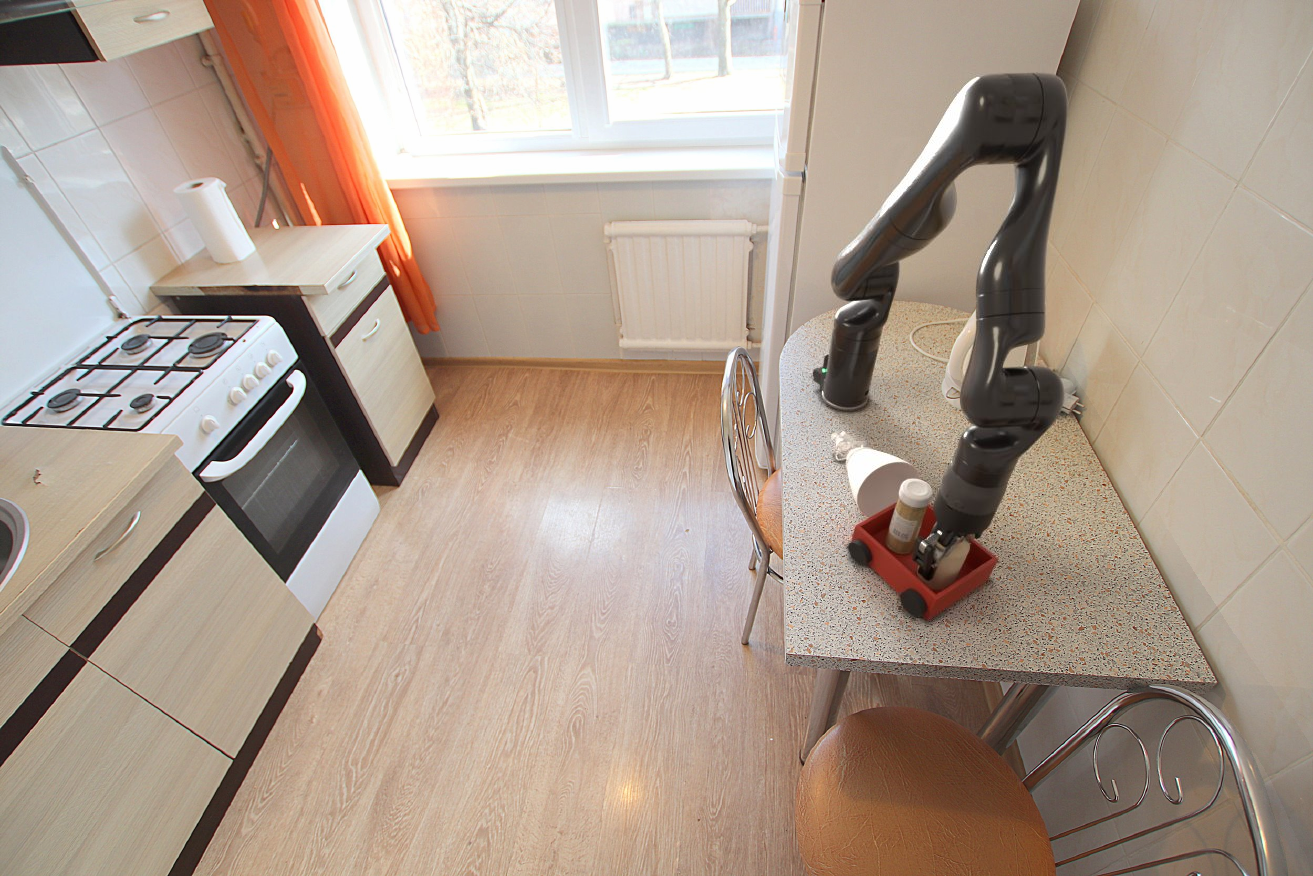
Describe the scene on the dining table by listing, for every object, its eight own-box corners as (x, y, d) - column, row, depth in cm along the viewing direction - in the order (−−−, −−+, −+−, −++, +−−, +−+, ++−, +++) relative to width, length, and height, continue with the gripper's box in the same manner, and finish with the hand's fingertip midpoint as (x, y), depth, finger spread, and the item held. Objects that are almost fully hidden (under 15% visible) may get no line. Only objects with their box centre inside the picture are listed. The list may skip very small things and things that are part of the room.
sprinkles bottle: (919, 546, 100) (940, 490, 91) (900, 560, 98) (919, 504, 89) (896, 529, 103) (914, 473, 94) (878, 541, 101) (894, 486, 92)
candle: (959, 574, 96) (978, 533, 89) (945, 597, 93) (963, 557, 86) (925, 556, 99) (941, 515, 92) (910, 578, 96) (925, 538, 89)
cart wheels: (846, 553, 101) (850, 537, 98) (915, 513, 106) (920, 497, 103) (917, 622, 91) (924, 607, 88) (989, 574, 96) (998, 558, 94)
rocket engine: (840, 403, 114) (890, 450, 98) (881, 430, 119) (934, 479, 103) (801, 450, 117) (843, 503, 102) (842, 474, 122) (888, 529, 107)
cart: (849, 547, 102) (855, 525, 98) (907, 514, 106) (914, 492, 102) (927, 621, 91) (936, 599, 87) (987, 580, 95) (999, 558, 92)
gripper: (982, 455, 88) (951, 530, 99) (910, 496, 83) (886, 570, 94) (1030, 487, 83) (991, 563, 94) (956, 533, 78) (924, 607, 89)
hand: (938, 566), depth 94 cm, fingers closed on candle, 5 cm apart
